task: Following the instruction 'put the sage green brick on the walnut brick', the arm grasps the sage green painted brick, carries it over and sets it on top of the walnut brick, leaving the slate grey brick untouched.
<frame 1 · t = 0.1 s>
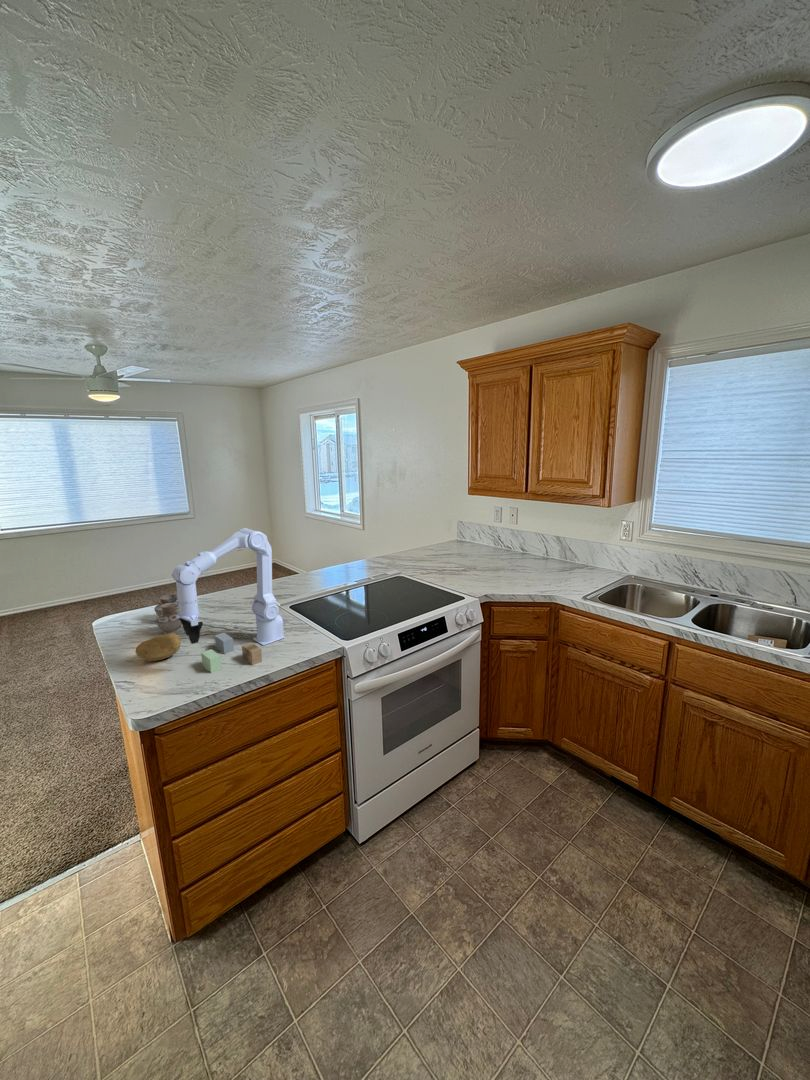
hand: (192, 638, 147), 10 cm above the worktop, fingers open, 7 cm apart
green brick: (212, 667, 148), on the worktop
pottery: (171, 626, 181), on the worktop
slate brick: (224, 649, 161), on the worktop
walnut brick: (252, 660, 153), on the worktop
potato: (160, 659, 153), on the worktop
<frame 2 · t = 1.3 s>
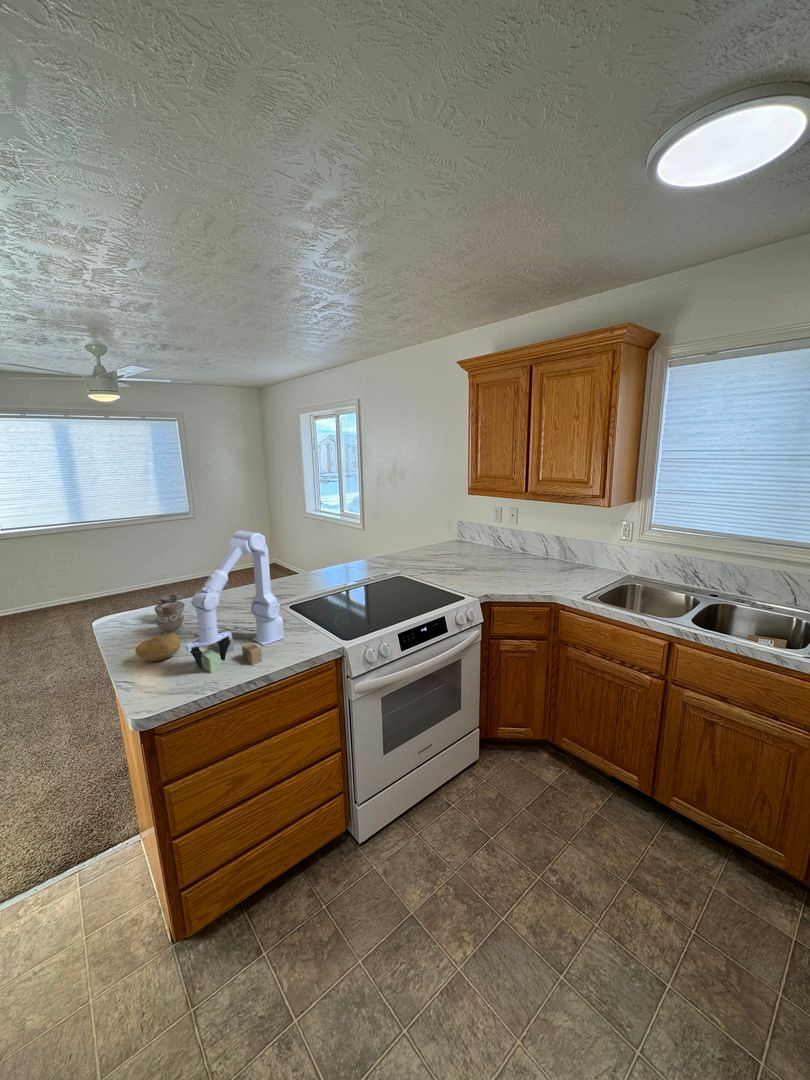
hand: (211, 663, 147), 1 cm above the worktop, fingers open, 7 cm apart
nothing on the worktop moved.
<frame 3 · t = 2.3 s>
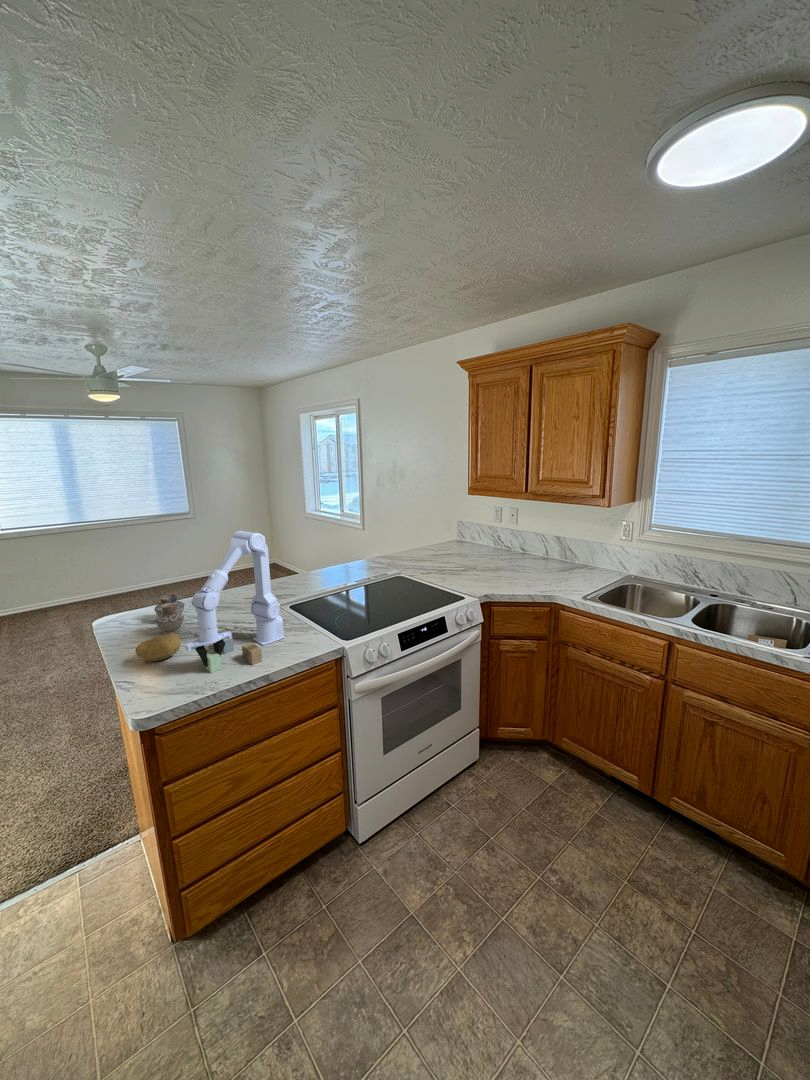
hand: (211, 663, 147), 1 cm above the worktop, fingers closed on green brick, 3 cm apart
green brick: (212, 667, 148), on the worktop, touching gripper
everything else where it was.
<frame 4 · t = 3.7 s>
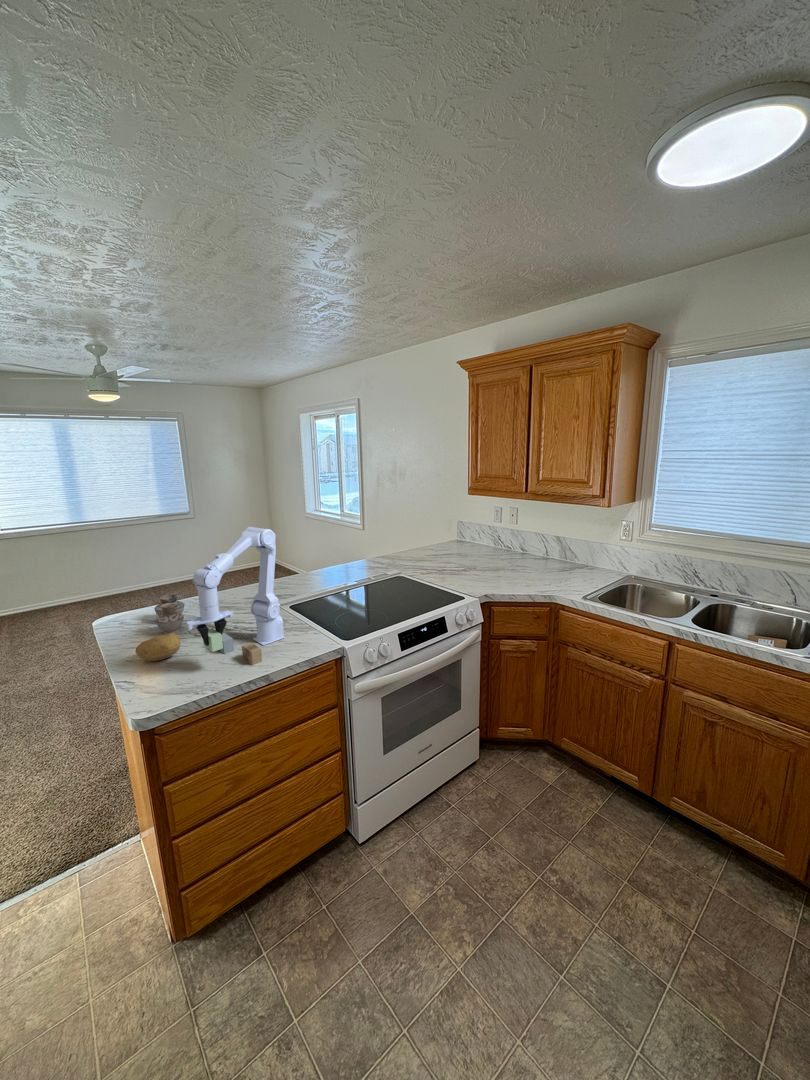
hand: (212, 642, 146), 9 cm above the worktop, fingers closed on green brick, 3 cm apart
green brick: (213, 646, 147), point 7 cm above the worktop, touching gripper
everything else where it was.
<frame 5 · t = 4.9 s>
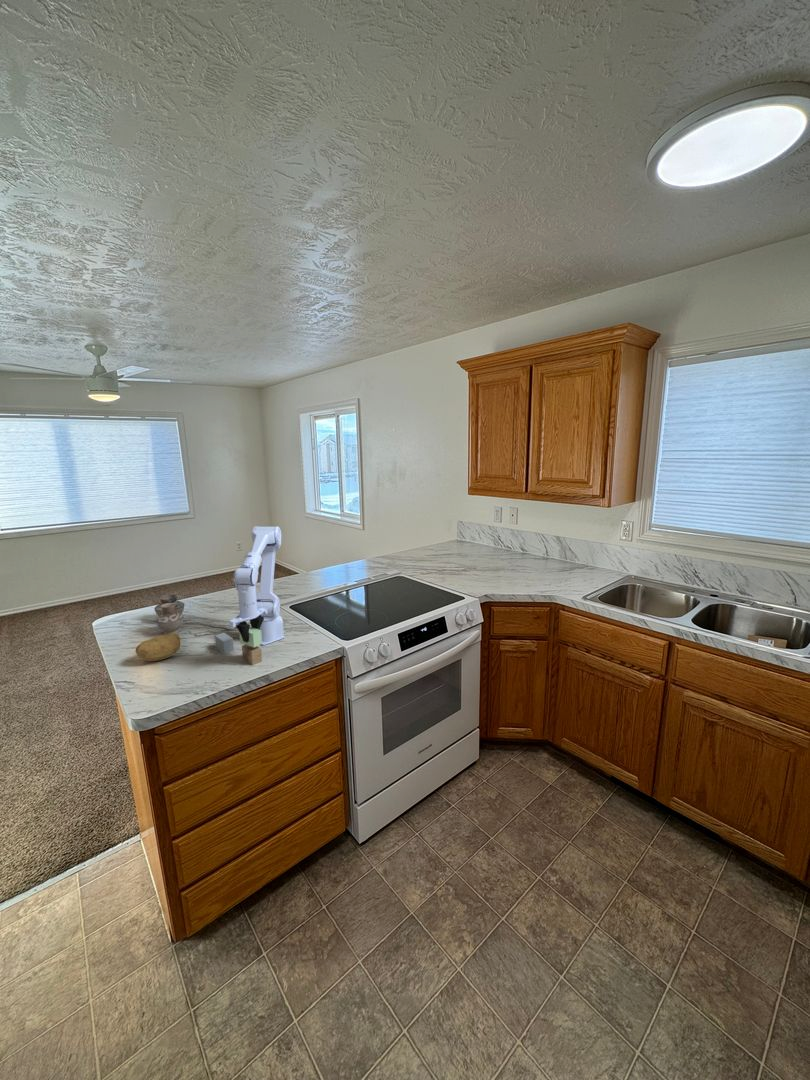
hand: (250, 639, 151), 8 cm above the worktop, fingers closed on green brick, 3 cm apart
green brick: (251, 643, 151), point 6 cm above the worktop, touching gripper
everything else where it was.
when the fingers open (8 cm above the worktop, at t = 5.5 s): green brick drops 1 cm, resting on walnut brick.
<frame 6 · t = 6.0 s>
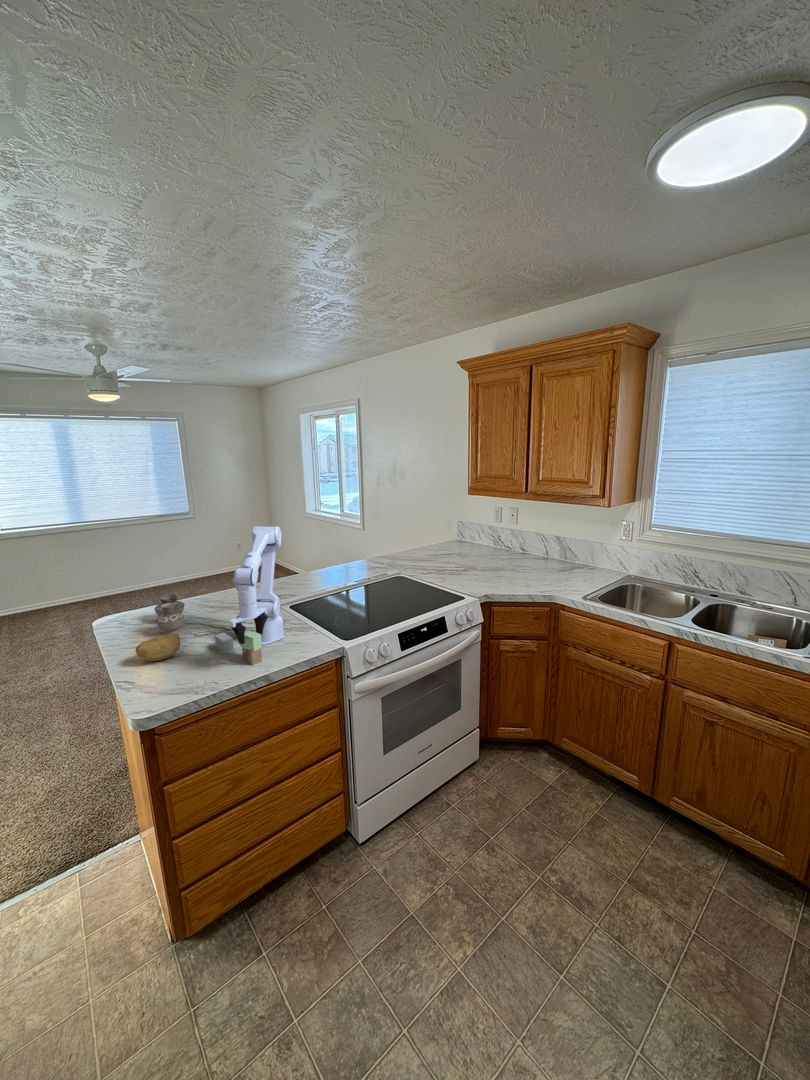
hand: (250, 639, 151), 8 cm above the worktop, fingers open, 7 cm apart
green brick: (251, 647, 152), point 5 cm above the worktop, touching walnut brick
walnut brick: (252, 660, 153), on the worktop, touching green brick
everything else where it was.
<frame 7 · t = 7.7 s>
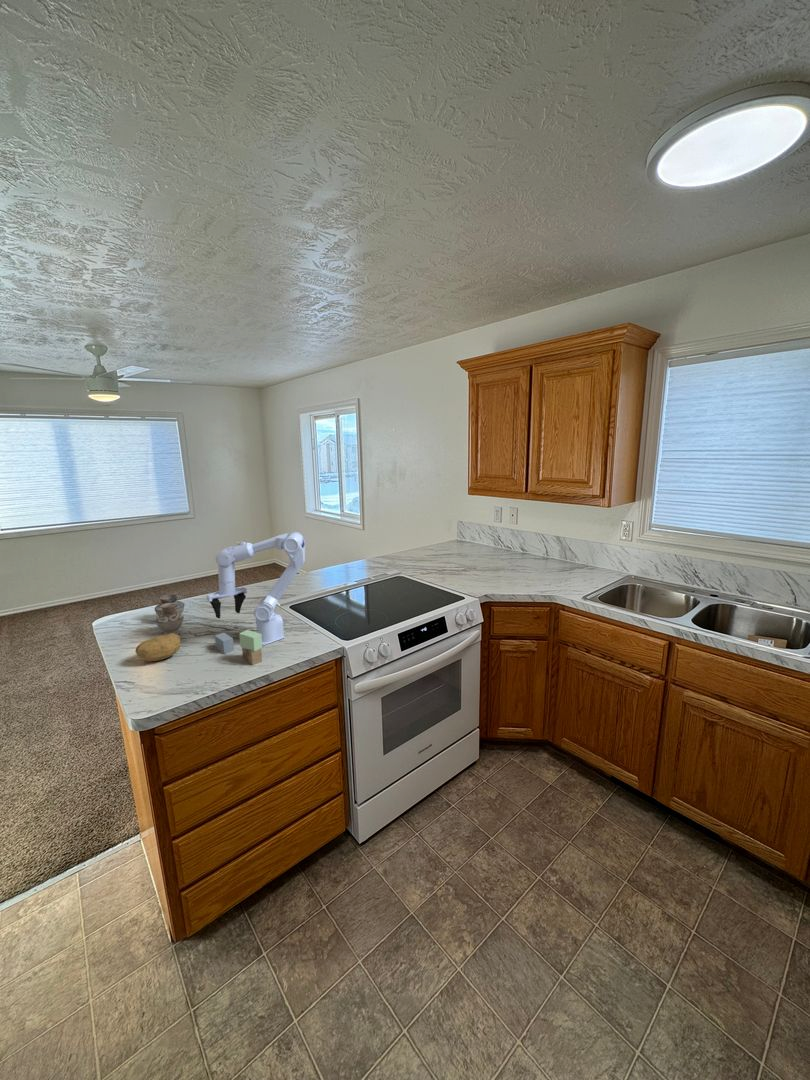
hand: (228, 614, 165), 10 cm above the worktop, fingers open, 7 cm apart
nothing on the worktop moved.
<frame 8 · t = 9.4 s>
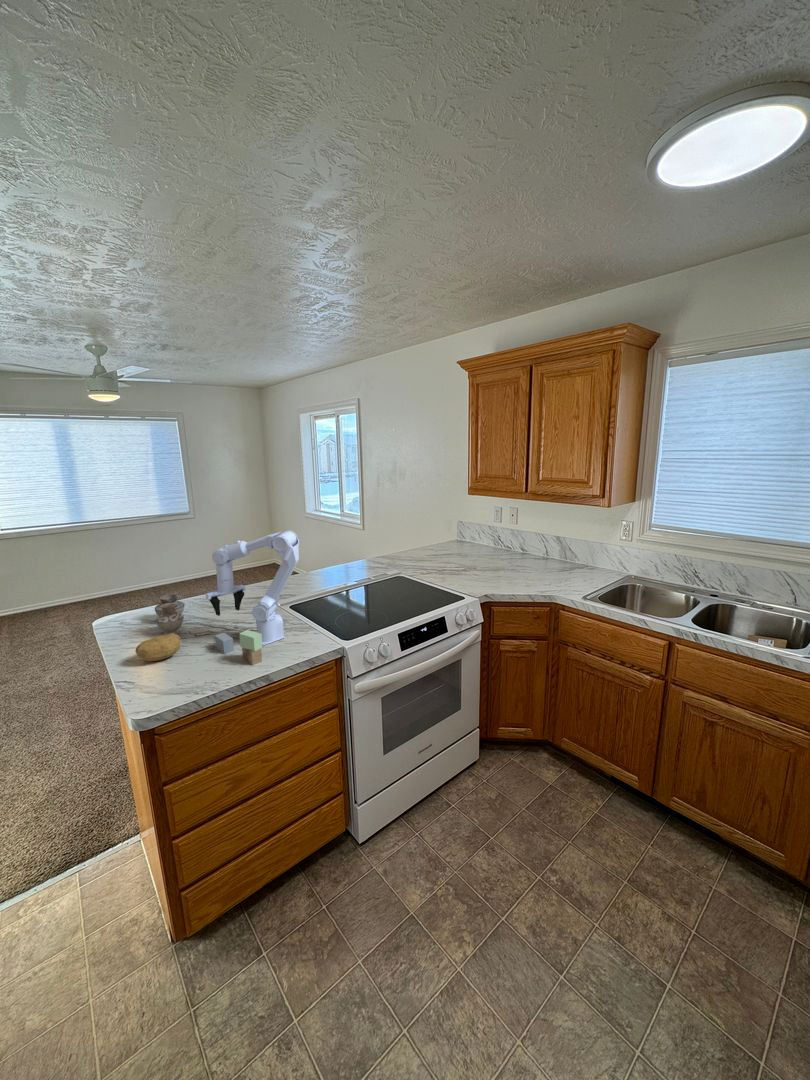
hand: (227, 612, 168), 10 cm above the worktop, fingers open, 7 cm apart
nothing on the worktop moved.
at the end: green brick 0.0 cm off-centre on the walnut brick, point 5.0 cm above the walnut brick's base; slate brick moved 0.1 cm from its start; walnut brick moved 0.1 cm from its start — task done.
